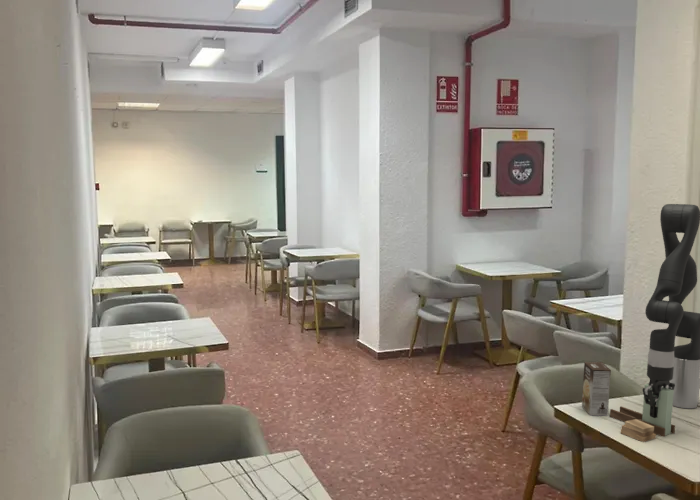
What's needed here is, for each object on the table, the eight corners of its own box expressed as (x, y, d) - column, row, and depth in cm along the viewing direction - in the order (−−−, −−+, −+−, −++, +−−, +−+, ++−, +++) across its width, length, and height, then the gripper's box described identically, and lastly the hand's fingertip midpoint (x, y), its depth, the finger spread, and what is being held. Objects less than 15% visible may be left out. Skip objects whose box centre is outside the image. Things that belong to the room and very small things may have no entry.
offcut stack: (632, 429, 212) (633, 417, 211) (655, 438, 205) (656, 426, 204) (619, 433, 209) (620, 421, 208) (643, 442, 202) (643, 430, 201)
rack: (620, 413, 226) (621, 406, 225) (674, 433, 209) (675, 425, 209) (609, 416, 223) (610, 409, 222) (663, 436, 206) (663, 429, 206)
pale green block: (647, 424, 216) (650, 383, 214) (670, 433, 209) (673, 390, 207) (641, 426, 214) (644, 384, 212) (664, 435, 207) (667, 391, 206)
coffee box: (580, 406, 232) (583, 361, 230) (599, 406, 232) (602, 361, 230) (589, 415, 223) (592, 369, 221) (609, 416, 223) (611, 369, 221)
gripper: (663, 357, 216) (659, 408, 218) (635, 363, 208) (632, 416, 210) (685, 363, 209) (681, 416, 211) (657, 369, 202) (653, 424, 204)
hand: (656, 415), depth 211 cm, fingers closed on pale green block, 3 cm apart
